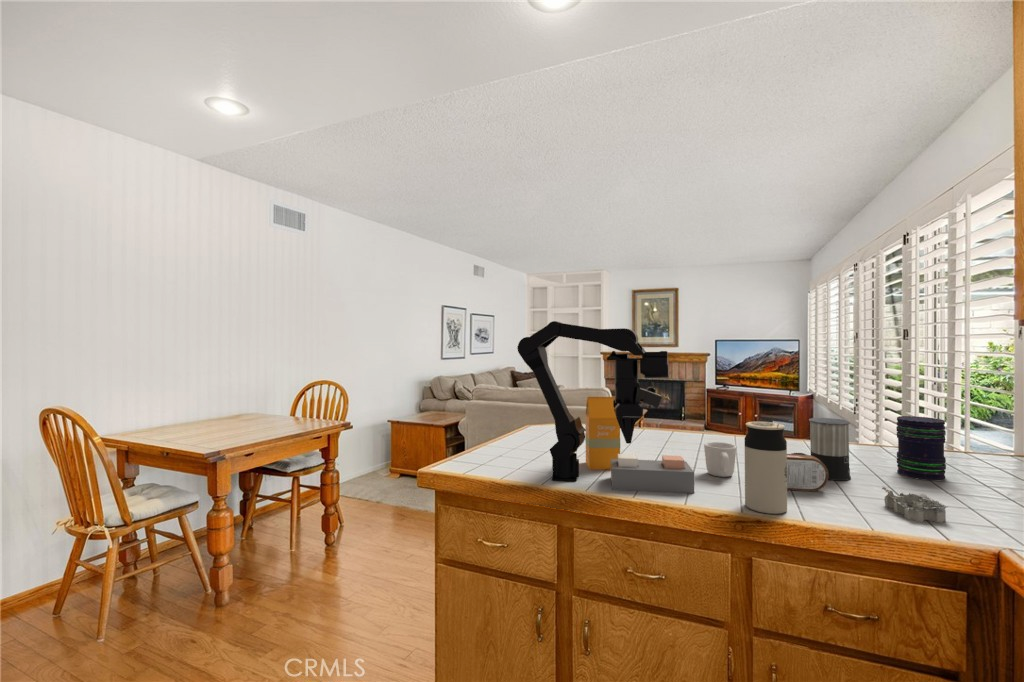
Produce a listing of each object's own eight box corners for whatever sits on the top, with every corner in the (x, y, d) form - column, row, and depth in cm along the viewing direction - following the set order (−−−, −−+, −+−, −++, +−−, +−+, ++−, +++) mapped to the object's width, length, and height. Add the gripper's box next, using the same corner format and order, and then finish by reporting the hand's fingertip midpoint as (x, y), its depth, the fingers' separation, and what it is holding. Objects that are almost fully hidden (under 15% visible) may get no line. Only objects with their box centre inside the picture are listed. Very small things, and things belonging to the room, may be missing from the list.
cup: (743, 483, 119) (743, 451, 119) (709, 481, 120) (709, 450, 120) (732, 471, 129) (732, 442, 129) (701, 470, 131) (701, 441, 131)
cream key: (618, 474, 117) (618, 458, 117) (617, 469, 121) (617, 453, 121) (637, 475, 116) (637, 458, 116) (636, 470, 120) (636, 454, 120)
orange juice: (620, 469, 132) (620, 398, 132) (589, 469, 132) (588, 398, 132) (615, 462, 140) (614, 395, 140) (585, 462, 140) (584, 395, 140)
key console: (612, 489, 114) (611, 468, 114) (610, 477, 124) (610, 458, 124) (694, 493, 111) (694, 472, 111) (686, 480, 121) (686, 461, 121)
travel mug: (740, 509, 100) (740, 424, 100) (750, 499, 106) (749, 420, 106) (783, 518, 95) (782, 429, 95) (790, 507, 101) (789, 423, 101)
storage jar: (904, 478, 122) (904, 420, 122) (890, 468, 131) (890, 415, 131) (953, 482, 118) (953, 423, 118) (936, 472, 127) (935, 417, 127)
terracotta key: (664, 476, 115) (664, 459, 115) (662, 471, 119) (662, 455, 119) (684, 477, 114) (684, 460, 114) (681, 471, 118) (681, 455, 118)
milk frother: (852, 483, 118) (852, 424, 118) (780, 474, 126) (779, 419, 126) (847, 470, 130) (847, 416, 130) (782, 462, 138) (782, 412, 138)
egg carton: (879, 504, 104) (879, 485, 104) (919, 507, 102) (919, 488, 102) (907, 522, 93) (907, 501, 93) (952, 525, 92) (952, 504, 92)
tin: (825, 489, 113) (824, 454, 113) (830, 493, 110) (830, 457, 110) (756, 485, 117) (756, 451, 117) (760, 489, 114) (760, 454, 114)
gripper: (665, 381, 108) (666, 449, 108) (654, 375, 126) (655, 433, 126) (615, 381, 110) (616, 447, 110) (612, 375, 128) (613, 432, 128)
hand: (627, 440), depth 119 cm, fingers open, 8 cm apart
